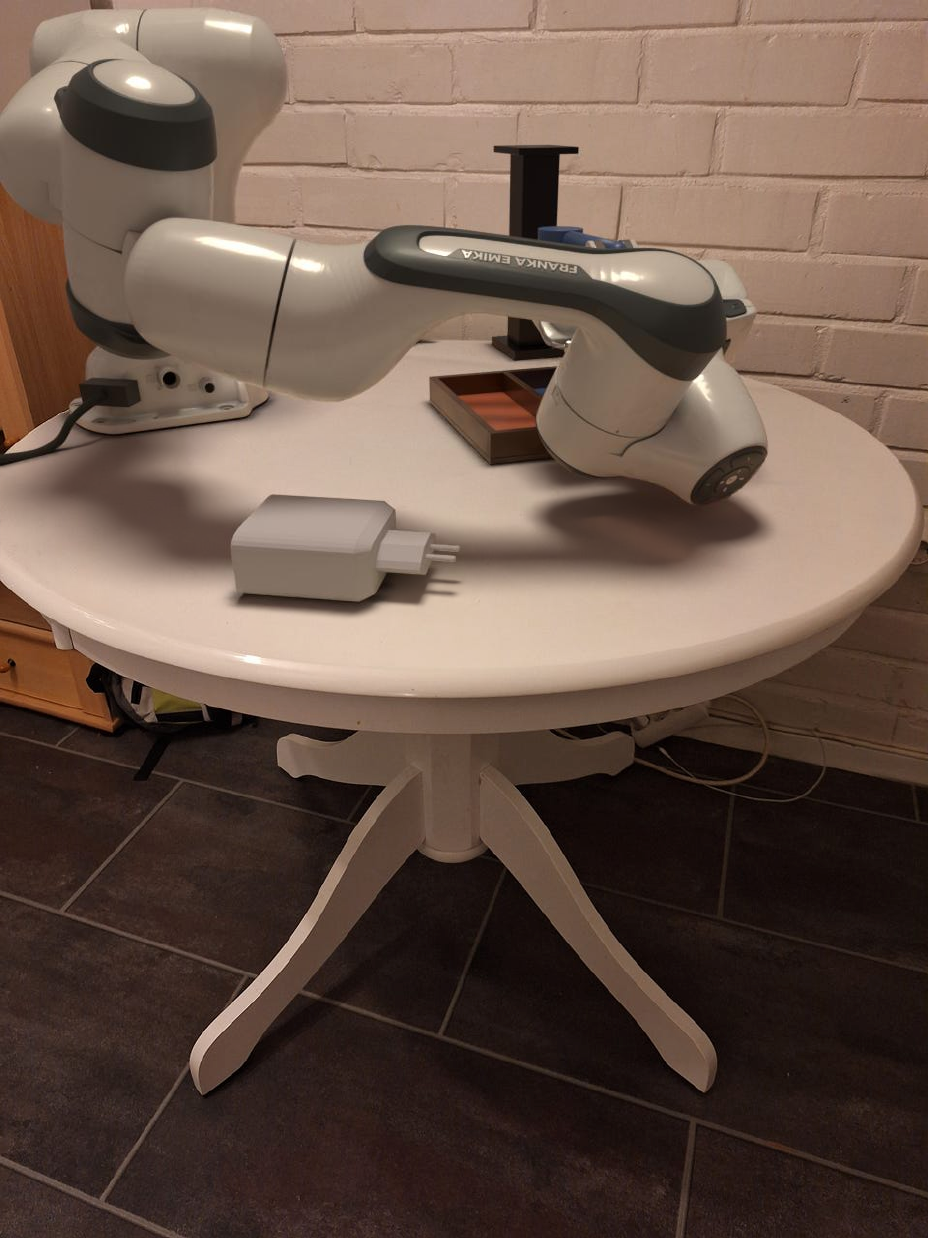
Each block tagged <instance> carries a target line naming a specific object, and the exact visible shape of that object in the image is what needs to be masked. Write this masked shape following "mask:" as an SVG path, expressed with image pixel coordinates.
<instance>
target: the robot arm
mask: <svg viewBox="0 0 928 1238" xmlns="http://www.w3.org/2000/svg"><path fill="white" fill-rule="evenodd" d="M28 54H29V55H28V58H29V59H28V62H29V71H30V77H31V78H30V79H28V80H27V81H26V82H25V83H24V84H23V85H22V86H21V87H20V88H19V90H18V91H16V93H15V94H14V95H13V96H12V98H11V99H10V100H9V101H8V103H7V104H6V106H5V108H4V109H3V110H2V112H1V114H0V184H1V186H2V187H3V189H4V190H5V191H6V193H7V194H8V196H9V197H10V198H11V199H12V200H13V202H15V203H16V204H17V205H18V206H19V207H20V208H21V209H22V210H24V212H26V213H28V215H31V216H32V217H34V218H36V219H38V220H40V221H42V222H44V223H48V224H51V225H55V226H59V227H60V226H61V227H62V235H63V248H64V249H63V250H64V256H65V257H64V258H65V264H66V265H65V266H66V271H67V276H68V278H67V280H66V282H65V292H66V298H67V302H68V307H69V311H70V313H71V317H72V319H73V322H74V324H75V326H76V328H77V329H78V330H79V332H81V333H82V334H83V336H85V337H86V338H87V339H89V340H90V341H91V342H92V343H93V344H94V345H96V346H95V347H94V349H92V350H91V351H90V353H89V354H88V356H87V358H86V363H85V372H84V373H85V374H84V375H85V376H84V377H85V378H84V381H82V382H79V383H78V386H79V392H80V397H78V398H77V397H76V398H74V399H73V400H72V401H71V402H70V403H69V404H68V411H69V416H68V417H66V419H65V421H64V422H63V424H62V426H61V428H60V430H59V432H58V434H57V435H56V436H55V437H54V439H52V440H51V441H49V442H48V443H46V444H44V445H42V446H39V447H36V448H34V449H29V450H23V451H18V452H16V451H15V452H8V453H1V454H0V464H6V463H7V464H8V463H15V462H20V461H24V460H28V459H29V460H30V459H34V458H37V457H40V456H44V455H47V454H50V453H52V452H54V451H55V450H57V449H59V447H61V446H62V445H63V444H64V443H65V442H66V440H67V439H68V437H69V435H70V433H71V431H72V429H73V427H74V426H75V424H77V425H79V426H80V427H82V428H83V429H86V430H88V431H89V430H90V431H92V432H95V433H100V434H107V435H121V434H127V433H128V434H129V433H137V432H144V431H149V430H159V429H165V428H172V427H180V426H187V425H195V424H202V423H209V422H218V421H224V420H232V419H239V418H244V417H248V416H249V415H250V414H251V412H252V411H253V409H254V408H256V407H257V406H259V405H261V404H262V403H264V402H265V401H266V400H268V398H269V396H270V393H269V391H270V392H274V393H277V394H281V395H284V396H287V397H290V398H291V397H292V398H295V399H299V400H304V401H311V402H320V403H338V402H339V403H340V402H344V401H346V400H349V399H353V398H354V397H357V396H359V395H362V394H363V393H365V392H367V391H368V390H371V388H372V387H374V386H375V385H377V384H378V383H379V382H381V381H382V380H383V379H384V378H385V377H386V376H388V374H389V373H391V371H392V370H393V369H394V368H395V367H396V366H397V365H398V363H400V362H401V360H402V359H403V358H404V357H405V356H406V354H408V352H409V351H410V350H411V349H412V348H413V347H414V346H415V345H416V344H417V343H418V342H419V341H420V340H421V339H422V338H424V337H425V336H426V335H427V334H428V333H430V332H431V331H432V330H434V329H435V328H436V327H439V326H440V325H441V324H443V323H445V322H448V321H449V320H451V319H454V318H456V317H460V316H465V315H471V314H487V315H493V316H501V317H507V318H508V317H515V318H522V319H529V320H532V321H533V322H534V324H535V325H536V327H537V329H538V330H539V331H540V333H541V335H542V337H543V340H544V341H545V343H546V344H547V345H549V346H553V347H556V348H559V349H563V351H564V352H565V354H564V356H562V357H561V358H562V359H561V361H560V362H559V363H558V365H556V366H557V368H556V370H555V372H554V374H553V377H552V379H551V381H550V383H549V385H548V387H547V389H546V391H545V394H544V396H543V398H542V401H541V403H540V406H539V408H538V410H537V412H536V416H535V422H536V428H537V431H538V434H539V437H540V439H541V441H542V443H543V445H544V446H545V448H546V449H547V451H548V452H549V453H550V455H551V456H552V457H553V458H552V459H554V460H555V461H556V463H558V464H559V465H560V466H561V467H563V468H564V469H565V470H567V471H568V472H570V474H573V475H575V476H577V477H581V478H585V479H591V480H610V479H611V480H612V479H621V478H630V479H636V480H640V481H644V482H648V483H652V484H655V485H658V486H661V487H663V488H665V489H667V490H669V491H671V492H672V493H673V494H675V495H676V496H677V497H678V498H680V499H681V500H682V501H684V502H686V503H687V504H690V505H693V506H708V505H711V504H715V503H718V502H721V501H724V500H726V499H728V498H729V497H732V495H734V494H735V493H737V492H738V491H740V490H741V489H743V488H744V487H745V486H746V485H747V484H748V483H750V481H751V480H752V479H753V477H754V476H755V475H756V473H758V471H759V470H760V469H761V468H762V466H763V464H764V463H765V461H766V458H767V457H768V454H769V440H768V435H767V430H766V428H765V424H764V421H763V419H762V417H761V413H760V412H759V409H758V407H757V405H756V404H755V403H756V402H755V401H754V399H753V397H752V395H751V393H750V391H749V390H748V388H747V386H746V384H745V383H744V381H743V379H742V377H741V375H740V374H739V372H738V371H737V370H736V369H735V368H734V367H733V366H731V365H732V364H733V362H734V361H735V359H736V358H737V356H738V354H739V353H740V351H741V349H742V347H743V346H744V344H745V343H746V340H747V338H748V336H749V333H750V332H751V329H752V327H753V324H754V322H755V319H756V317H757V314H758V309H757V308H756V306H755V305H754V303H753V302H752V301H751V300H750V299H748V292H747V289H746V288H745V285H744V283H743V282H742V279H741V277H739V275H738V273H737V272H736V270H735V268H734V267H733V266H732V265H731V264H729V263H727V262H726V261H723V260H722V259H718V258H713V259H712V258H711V259H697V260H696V259H693V258H692V257H690V256H688V255H685V254H683V253H680V252H678V251H674V250H670V249H666V248H658V247H657V248H656V247H639V244H638V243H637V241H636V240H635V239H634V238H632V239H631V238H630V239H629V238H628V239H619V240H617V242H621V243H623V244H625V245H626V247H627V248H618V249H606V247H605V245H603V241H587V242H586V245H585V246H578V245H571V244H564V243H557V242H550V241H543V240H536V239H528V238H521V237H514V236H509V235H507V234H500V233H499V234H498V233H493V232H487V231H486V232H485V231H479V230H471V229H470V230H469V229H463V228H454V227H444V226H434V225H423V224H422V225H421V224H401V225H400V224H399V225H394V226H393V225H392V226H389V227H386V228H384V229H382V230H381V231H380V232H379V233H378V234H377V235H376V236H374V237H373V238H372V239H371V240H367V241H363V242H357V243H351V244H321V243H316V242H309V241H306V240H301V239H298V238H297V240H296V238H295V237H292V236H288V235H284V234H280V233H277V232H275V231H274V232H273V231H269V230H265V229H260V228H256V227H252V226H248V225H242V224H237V223H236V197H237V196H236V195H237V187H238V183H239V178H240V174H241V171H242V168H243V166H244V163H245V160H246V158H247V156H248V154H249V153H250V151H251V149H252V147H253V146H254V144H255V143H256V142H257V140H258V139H259V138H260V136H261V135H262V134H264V132H266V130H267V129H268V128H269V127H271V125H273V123H274V122H275V121H276V120H277V119H278V117H279V115H280V113H281V112H282V109H283V107H284V105H285V103H286V99H287V95H288V88H289V70H288V65H287V59H286V55H285V53H284V50H283V47H282V45H281V43H280V41H279V39H278V38H277V36H276V35H275V33H274V32H273V30H272V29H271V28H270V26H269V25H268V24H267V23H266V22H265V21H264V20H263V19H262V18H261V17H259V16H255V15H253V14H252V15H251V14H247V13H243V12H239V11H235V10H230V9H224V8H219V7H214V6H213V7H209V6H208V7H203V6H202V7H160V8H159V7H151V8H112V9H111V8H105V9H103V8H102V9H101V8H100V9H98V8H97V9H85V10H80V11H75V12H71V13H68V14H67V13H66V14H63V15H60V16H55V17H53V18H49V19H46V20H43V21H41V23H39V24H38V25H37V27H36V29H35V32H34V33H33V36H32V38H31V41H30V48H29V53H28Z"/></svg>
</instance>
